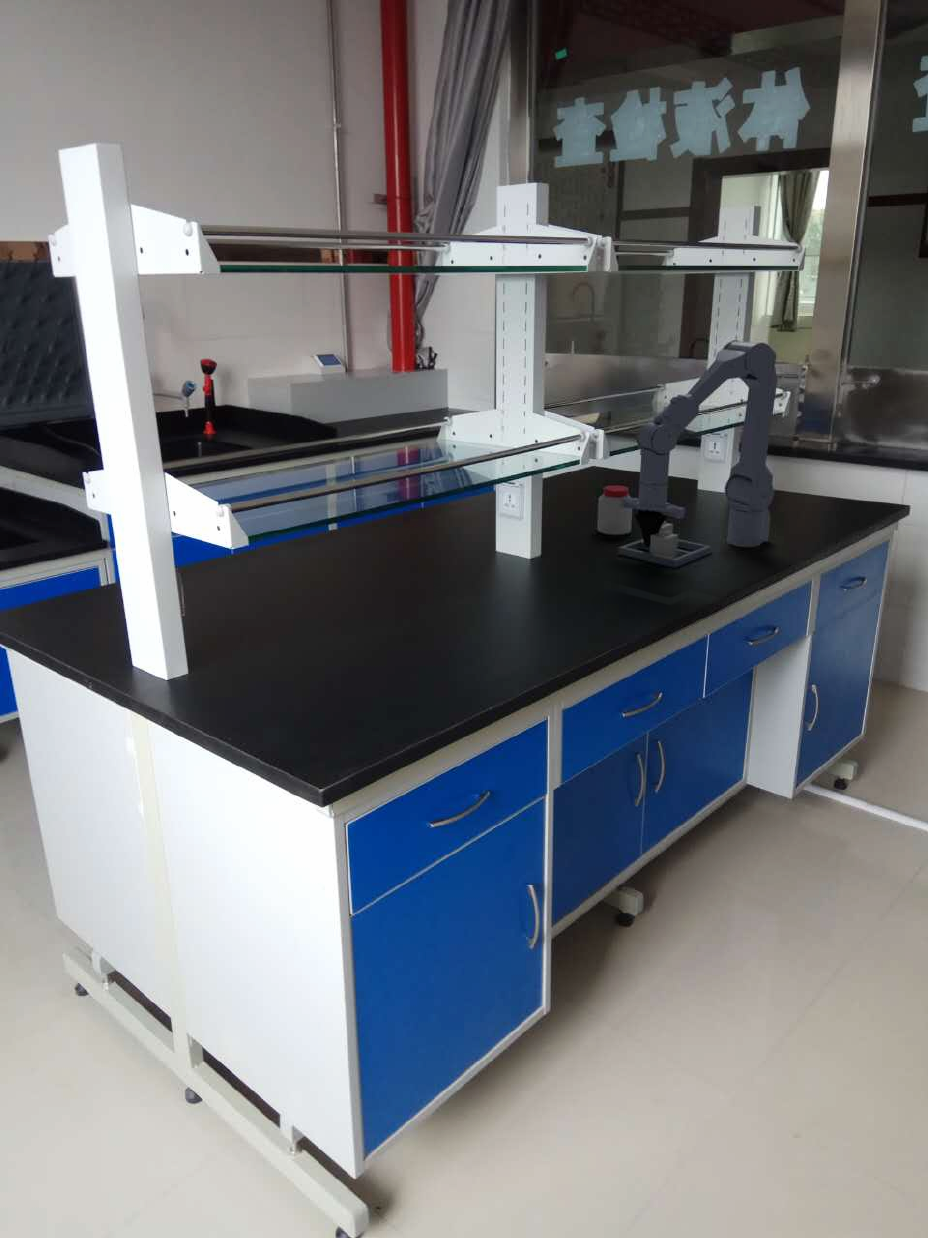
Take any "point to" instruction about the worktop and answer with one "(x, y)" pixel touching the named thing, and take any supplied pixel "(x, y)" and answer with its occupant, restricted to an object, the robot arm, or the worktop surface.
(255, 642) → the worktop surface
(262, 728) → the worktop surface
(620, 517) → the pill bottle
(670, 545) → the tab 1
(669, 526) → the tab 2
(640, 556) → the dark blue tray
